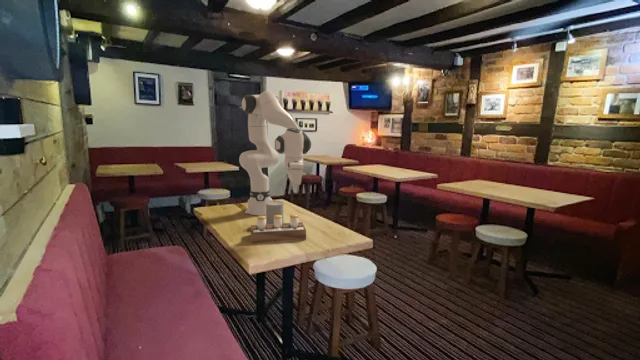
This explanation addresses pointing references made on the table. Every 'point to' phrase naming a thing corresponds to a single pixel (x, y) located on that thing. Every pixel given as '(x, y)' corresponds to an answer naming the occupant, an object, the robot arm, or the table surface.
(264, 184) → the robot arm
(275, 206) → the grey concrete cylinder
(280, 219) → the middle button
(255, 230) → the strip
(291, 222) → the button
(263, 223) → the button
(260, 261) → the table surface
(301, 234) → the button board
